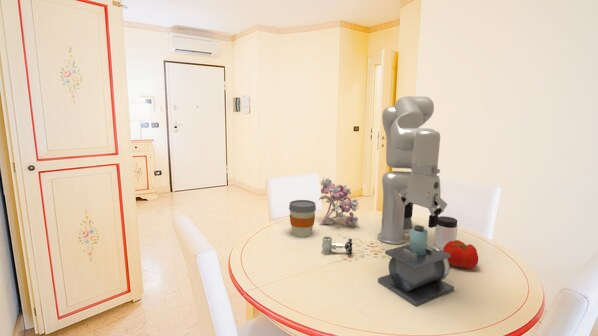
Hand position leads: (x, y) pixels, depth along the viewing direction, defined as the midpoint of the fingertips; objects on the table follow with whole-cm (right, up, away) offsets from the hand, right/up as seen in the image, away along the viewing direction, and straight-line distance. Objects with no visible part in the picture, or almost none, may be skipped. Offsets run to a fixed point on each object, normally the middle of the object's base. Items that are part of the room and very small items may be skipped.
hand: (419, 222), depth 104 cm
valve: (-24, -18, +28) cm, 41 cm away
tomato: (+22, -20, +20) cm, 36 cm away
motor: (0, -22, +3) cm, 22 cm away
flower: (-17, -12, +63) cm, 67 cm away
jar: (+25, -17, +38) cm, 49 cm away
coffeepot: (+14, -13, +61) cm, 64 cm away
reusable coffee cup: (-38, -14, +49) cm, 63 cm away
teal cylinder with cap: (0, -10, +1) cm, 10 cm away
